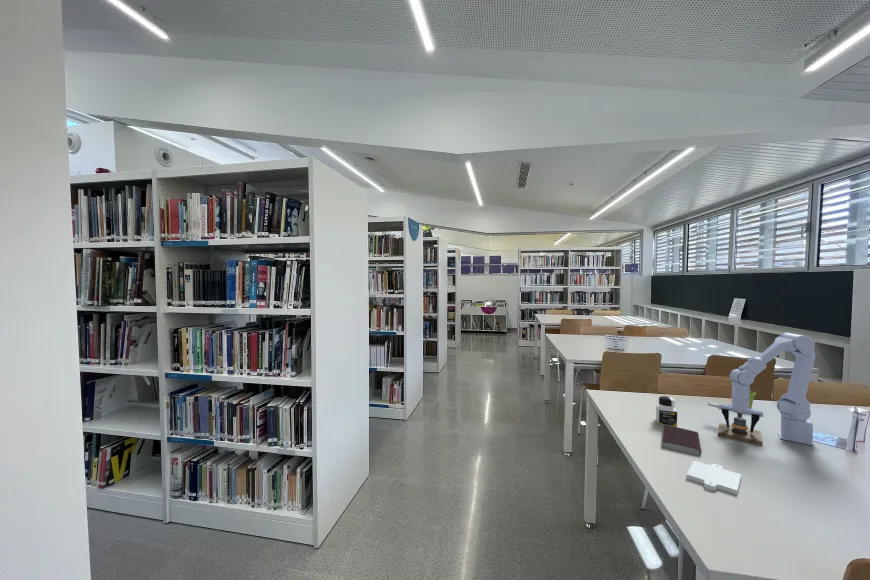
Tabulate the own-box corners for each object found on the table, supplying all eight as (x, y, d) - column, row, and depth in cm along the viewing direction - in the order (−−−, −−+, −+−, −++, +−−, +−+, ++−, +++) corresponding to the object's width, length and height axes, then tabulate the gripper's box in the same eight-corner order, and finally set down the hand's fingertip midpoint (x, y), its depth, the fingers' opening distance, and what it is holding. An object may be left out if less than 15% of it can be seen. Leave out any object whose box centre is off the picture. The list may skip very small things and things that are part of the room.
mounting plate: (694, 463, 130) (694, 458, 130) (741, 477, 121) (741, 471, 121) (684, 482, 117) (684, 476, 117) (736, 500, 108) (736, 493, 108)
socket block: (760, 434, 154) (761, 417, 154) (762, 445, 144) (763, 426, 144) (719, 425, 163) (719, 409, 163) (718, 435, 153) (718, 418, 153)
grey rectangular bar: (744, 413, 158) (744, 410, 158) (742, 414, 156) (742, 411, 156) (709, 404, 169) (709, 401, 169) (706, 405, 168) (707, 402, 168)
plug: (747, 435, 154) (747, 418, 154) (747, 439, 150) (748, 422, 150) (731, 431, 157) (732, 415, 157) (731, 435, 153) (732, 419, 153)
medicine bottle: (658, 424, 164) (659, 398, 164) (655, 419, 171) (656, 394, 171) (677, 427, 162) (677, 400, 161) (673, 421, 168) (673, 396, 168)
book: (698, 438, 151) (698, 431, 151) (701, 457, 135) (701, 448, 135) (663, 431, 158) (663, 424, 158) (661, 448, 142) (661, 440, 142)
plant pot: (727, 404, 193) (727, 388, 193) (746, 405, 192) (747, 389, 191) (739, 410, 184) (740, 393, 183) (760, 411, 182) (760, 394, 182)
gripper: (718, 396, 155) (717, 427, 155) (764, 404, 146) (763, 437, 146) (719, 392, 160) (718, 422, 161) (763, 399, 151) (762, 431, 151)
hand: (739, 429), depth 154 cm, fingers open, 7 cm apart
